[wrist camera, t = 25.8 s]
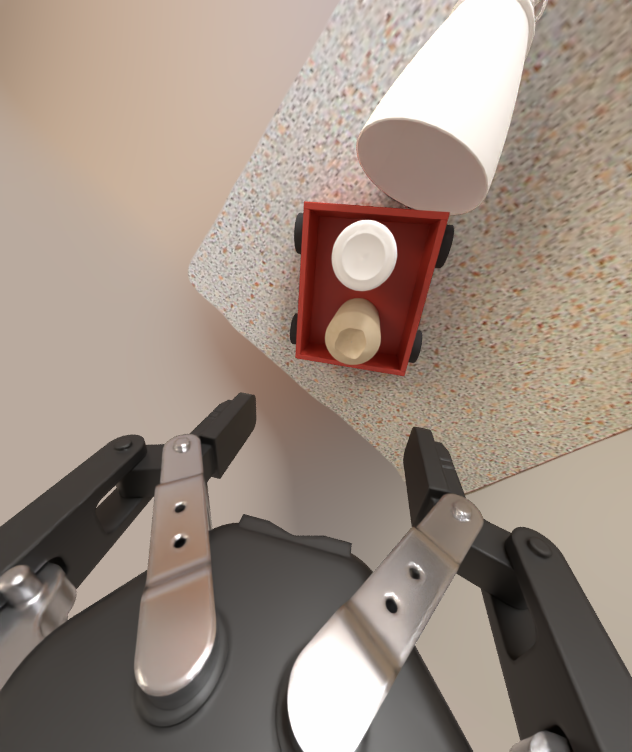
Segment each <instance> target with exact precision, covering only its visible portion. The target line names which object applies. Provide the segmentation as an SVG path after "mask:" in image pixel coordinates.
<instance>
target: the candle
mask: <svg viewBox="0 0 632 752" xmlns="http://www.w3.org/2000/svg"><path fill="white" fill-rule="evenodd" d="M380 342H381V333H380V320H379V313H378V311H377V309H376V307H375V306H374V305H373V304H372V303H371V302H370V301H368V300H366V299H363V298H354V299H350V300H348V301H346V302H345V303H344V304H342V306H341V307H340V308H339V309H338V311H337V313H336V314H335V316H334V317H333V319H332V320H331V322H330V324H329V325H328V327H327V330H326V333H325V343H326V347H327V349H328V351H329V353H330V354H331V355H332V356H333V357H334V358H335V359H336V360H338V361H339V362H342V363H344V364H349V365H357V364H362V363H364V362H366V361H368V360H370V359H371V358H372V357H373V356H374V355H375V354H376V352H377V351H378V349H379V346H380Z"/></svg>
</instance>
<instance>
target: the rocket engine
mask: <svg viewBox="0 0 632 752" xmlns="http://www.w3.org/2000/svg"><path fill="white" fill-rule="evenodd" d="M540 1H541V0H459V1H458V2H457V4H456V5H455V7H454V8H453V10H452V12H451V14H450V16H449V18H448V19H447V20H446V21H445V22H444V23H443V24H442V25H441V26H440V28H439V29H438V30H437V31H436V32H435V33H434V35H433V36H432V37H431V38H430V39H429V40H428V42H427V43H426V44H425V45H424V46H423V47H422V49H421V50H420V51H419V52H418V53H417V55H416V56H415V57H414V58H413V60H412V61H411V62H410V63H409V64H408V66H407V67H406V68H405V69H404V71H403V72H402V73H401V75H400V76H399V77H398V78H397V80H396V81H395V82H394V84H393V85H392V86H391V88H390V89H389V90H388V92H387V93H386V95H385V96H384V97H383V99H382V100H381V102H380V103H379V104H378V106H377V107H376V109H375V110H374V112H373V113H372V115H371V116H370V118H369V119H368V121H367V123H366V124H365V126H364V127H363V129H362V131H361V132H360V135H359V137H358V139H357V145H356V151H357V157H358V160H359V162H360V165H361V167H362V169H363V170H364V172H365V173H366V175H367V176H368V177H369V179H370V180H371V181H372V182H373V183H374V184H375V185H376V186H377V187H378V188H379V189H380V190H382V191H383V192H384V193H385V194H387V195H388V196H390V197H391V198H393V199H394V200H396V201H398V202H400V203H401V204H403V205H405V206H408V207H410V208H413V209H415V210H427V211H441V212H450V214H449V215H459V214H464V213H467V212H469V211H472V210H474V209H475V208H477V207H478V206H479V205H481V203H482V202H483V201H484V199H485V198H486V196H487V193H488V190H489V188H490V185H491V183H492V180H493V177H494V174H495V171H496V168H497V165H498V162H499V159H500V156H501V153H502V150H503V146H504V143H505V140H506V136H507V133H508V129H509V126H510V122H511V118H512V114H513V111H514V107H515V102H516V98H517V94H518V90H519V85H520V81H521V76H522V71H523V66H524V61H525V59H526V57H527V55H528V53H529V50H530V47H531V44H532V41H533V37H534V32H535V22H537V21H538V20H539V19H540V17H541V16H542V15H543V13H544V11H545V8H546V5H547V2H548V0H544V2H543V5H542V8H541V11H540V13H539V14H538V16H537V17H535V16H534V7H535V6H536V5H537V4H538V3H539V2H540Z"/></svg>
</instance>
